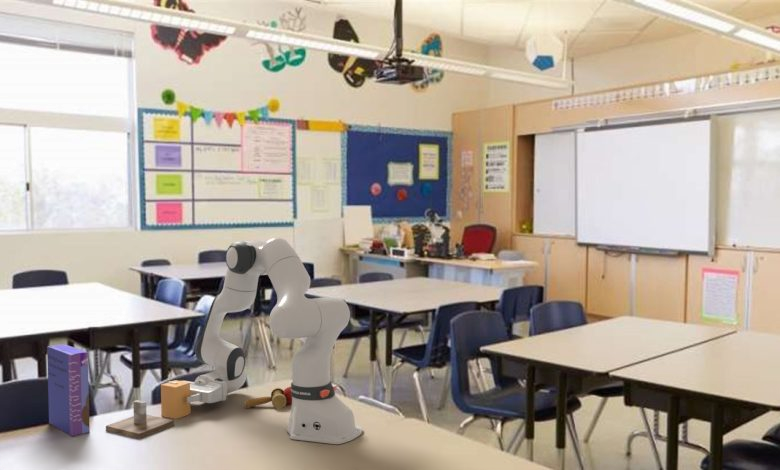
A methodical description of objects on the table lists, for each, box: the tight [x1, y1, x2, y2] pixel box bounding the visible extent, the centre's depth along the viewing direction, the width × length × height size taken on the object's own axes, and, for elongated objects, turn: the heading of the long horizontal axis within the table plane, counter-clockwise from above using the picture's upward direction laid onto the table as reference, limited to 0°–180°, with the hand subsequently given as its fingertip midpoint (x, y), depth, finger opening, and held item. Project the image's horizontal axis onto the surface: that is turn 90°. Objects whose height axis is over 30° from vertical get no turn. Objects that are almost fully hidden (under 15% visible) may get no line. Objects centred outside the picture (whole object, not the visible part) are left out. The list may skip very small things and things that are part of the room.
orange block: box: [160, 379, 191, 420], centre depth 208 cm, size 6×6×10 cm
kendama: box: [244, 386, 292, 409], centre depth 217 cm, size 8×6×18 cm
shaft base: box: [105, 399, 175, 440], centre depth 195 cm, size 14×13×8 cm
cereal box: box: [46, 343, 91, 437], centre depth 195 cm, size 17×5×24 cm, turn 48°
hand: (175, 397), depth 207 cm, fingers open, 8 cm apart
